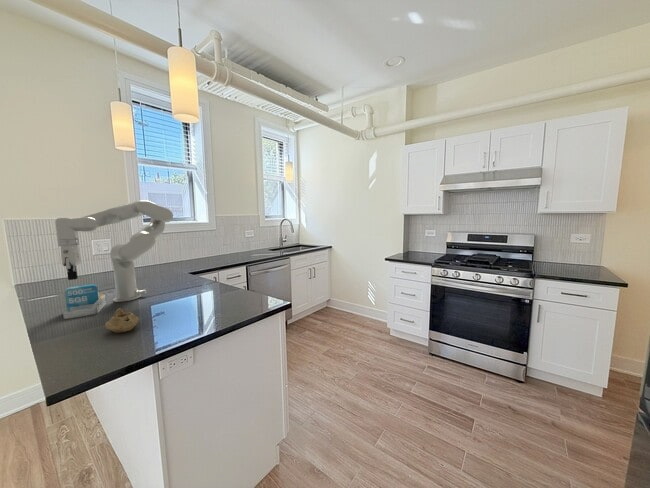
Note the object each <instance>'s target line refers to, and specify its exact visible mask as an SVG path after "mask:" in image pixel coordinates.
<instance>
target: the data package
mask: <svg viewBox="0 0 650 488" xmlns="http://www.w3.org/2000/svg"><path fill="white" fill-rule="evenodd" d="M64 296H65V297H64V298H65V302H66V303H65V304H66V310H67V311H66V312H69V311H70V307H74V306H81V305H88V304H94V303H95V302H96V301H97V300H98V298H99V292H98V286H97V285H96V284H94V283H90V284H84V285H79V286H70V287H67V288H65V291H64Z"/></svg>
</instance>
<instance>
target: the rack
mask: <svg viewBox="0 0 650 488" xmlns="http://www.w3.org/2000/svg"><path fill="white" fill-rule="evenodd" d="M106 304H107V301H106V295H105V294H104V293H103V294H101V295H100V296H98V300H97V301H96V302H95V303H94V304H88V305H81V306H74V307H70V311H69V312H68V311H64V312H63V315H62V316H63V319H64V320H67V319H74V318H80V317H85V316H86V317H87V316H92V315H97V314H99V313H100V312H101V310H102V309H103V308H104V307H105V305H106Z"/></svg>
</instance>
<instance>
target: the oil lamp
mask: <svg viewBox="0 0 650 488" xmlns="http://www.w3.org/2000/svg"><path fill="white" fill-rule="evenodd" d="M139 321H140V319H139V316H137V315H135V314H134V313H133V312H130V311H125V312H124V311H123V309H122V308H120V307H119V308H117V309H116V310H115V314H114V315H113V316H112V317H110V319H109V320H108V321H106V323H105V324H104V328H105V329H106V330H109V331H112V332H114V333H119V334H120V333H126V332H129V331H131V330H133V328H134V327H135V326H136V325H138V323H139Z"/></svg>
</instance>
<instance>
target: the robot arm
mask: <svg viewBox="0 0 650 488" xmlns="http://www.w3.org/2000/svg"><path fill="white" fill-rule="evenodd" d="M142 216H146V217H148V218H150V222H149V223H148V225H146V226H145V227H144V228H143V229H142V228H141V229H140V230H138V231H137V232H136V233H133V235H131V237H130V239H129V241H128V242H127V243H117V244H115V245H114V246H112V247H111V249H110V259H111V262H112V267H113V277H114V286H115V294H116V297H114V298H113V299H112V300H113V302H116V303H121V302H130V301H134V300H137V299H140V298H141V294H142V295H144V294H147V290H146V289H142V290H139V288H137V281H136V279H137V278H136V270H135V263H134V261H135V260H136V259H138V258H140V257H141V256H142V255H144V254H145V253H147V252H148V251H150V250H151V249H152V248H153V247H154V246H155V244H156V239H157V238H158V237H159V236H161V235H162V234H163V233H164V231H165V228H166V223H169V222H171V221H172V220H173V219H174V213H173V211H172V210H171V209H169V208H167V207H164V206H161V205H159V204H157V203H154V202H152V201H150V200H145V199H141V200H135V201H133V202H129V203H126V204H122V205H119V206H118V205H117V206H115V207H111V208H108V209H106V210H102V211H99V212H95V213H92V214H89V215H85V216H84V215H83V216H81V217H58V218H56V219H55V221H54V222H55V223H54V224H55V229H56V230H55V232H56V237H57V238H56V239H57V246H58V247H59V248H60V255H61V257H60V258H61V263H62V264H61V265H62V266H63V267H65V270H66V273H67V280H68V281H71V280H72V281H73V280H77V279H78V269H77V266H78V265H80V264H82V260H81V254H80V253H81V252H80V248H79V246H80V240H79V232H82V233H83V232H84V233H86V232H87V233H91V232H94V231H96V230H97V229H98V228H101V227H105V226H107V225H108V226H109V225H114V224H120V223H123V222H126V221H129V220H132V219H135V218H136V219H137V218H138V217H142Z"/></svg>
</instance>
